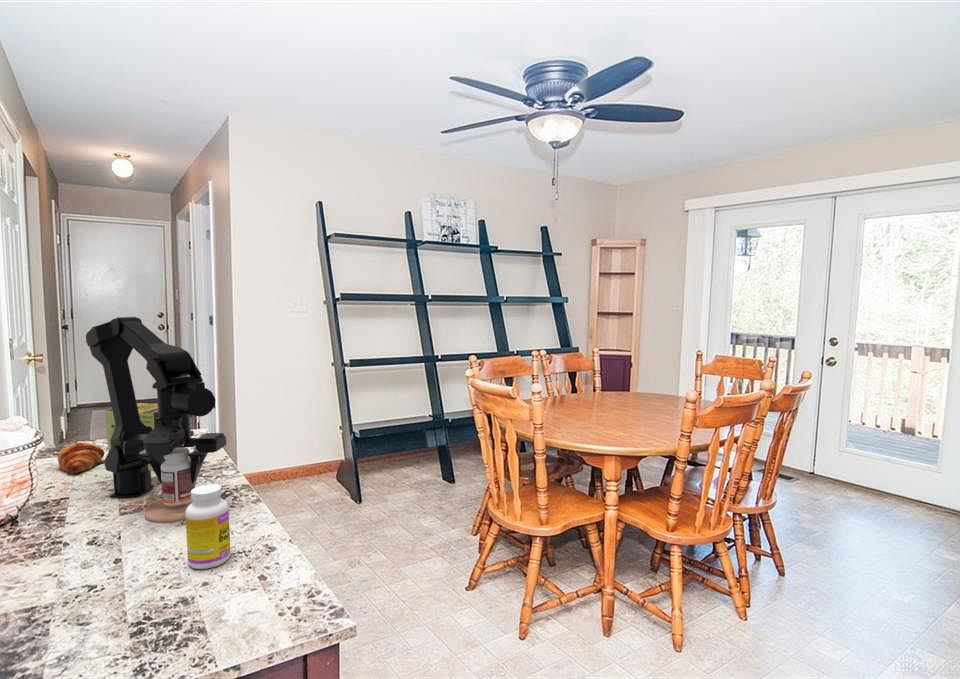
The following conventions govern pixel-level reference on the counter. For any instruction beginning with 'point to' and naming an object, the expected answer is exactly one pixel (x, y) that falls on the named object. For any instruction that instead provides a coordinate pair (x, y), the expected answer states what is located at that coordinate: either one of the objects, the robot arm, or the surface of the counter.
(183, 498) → the pill bottle
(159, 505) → the terracotta plate
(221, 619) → the counter surface
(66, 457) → the croissant
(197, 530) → the supplement bottle
